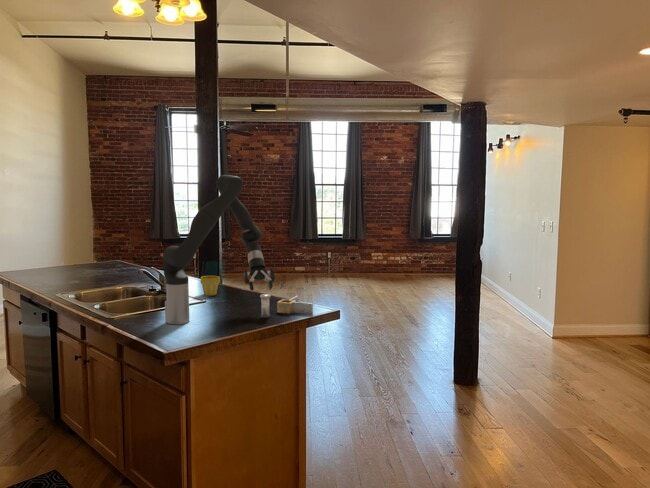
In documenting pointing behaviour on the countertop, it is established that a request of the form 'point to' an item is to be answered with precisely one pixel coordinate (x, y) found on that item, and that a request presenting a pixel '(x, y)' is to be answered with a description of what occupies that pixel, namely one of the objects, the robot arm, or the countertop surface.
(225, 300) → the countertop surface
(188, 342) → the countertop surface
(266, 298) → the pin
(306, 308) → the shallow cream box
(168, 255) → the robot arm
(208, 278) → the plant pot
